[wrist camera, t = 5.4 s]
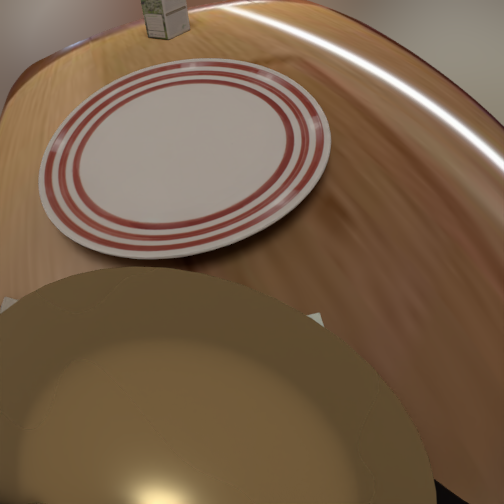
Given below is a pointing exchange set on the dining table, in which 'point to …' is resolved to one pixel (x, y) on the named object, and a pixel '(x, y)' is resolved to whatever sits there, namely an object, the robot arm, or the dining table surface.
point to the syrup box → (165, 18)
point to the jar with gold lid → (192, 400)
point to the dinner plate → (183, 159)
